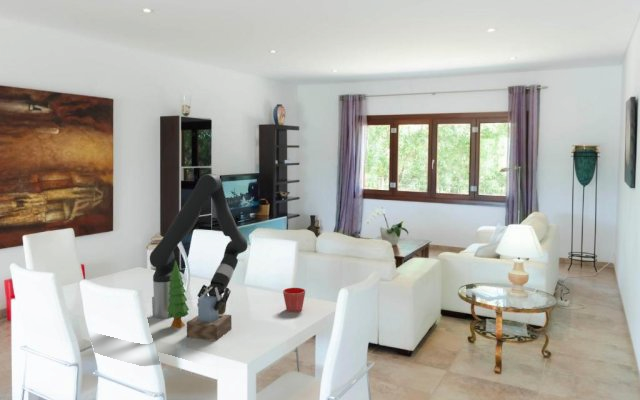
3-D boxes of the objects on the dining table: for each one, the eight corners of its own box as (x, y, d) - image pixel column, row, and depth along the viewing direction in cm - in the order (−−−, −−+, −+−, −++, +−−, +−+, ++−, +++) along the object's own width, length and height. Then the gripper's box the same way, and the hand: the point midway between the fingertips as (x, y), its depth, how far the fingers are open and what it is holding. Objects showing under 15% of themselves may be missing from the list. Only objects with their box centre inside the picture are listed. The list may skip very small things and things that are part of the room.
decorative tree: (181, 321, 242) (179, 257, 239) (193, 325, 236) (192, 259, 233) (163, 326, 234) (160, 260, 232) (175, 331, 228) (173, 263, 226)
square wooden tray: (187, 338, 221) (186, 322, 220) (202, 327, 234) (202, 312, 234) (217, 341, 217) (217, 325, 217) (231, 330, 231) (231, 314, 230)
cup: (211, 320, 242) (210, 303, 242) (210, 316, 249) (209, 299, 249) (227, 319, 244) (227, 302, 244) (226, 314, 251) (225, 298, 251)
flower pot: (302, 313, 253) (302, 293, 252) (280, 312, 255) (280, 292, 254) (307, 307, 263) (307, 288, 262) (286, 305, 265) (286, 287, 265)
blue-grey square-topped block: (198, 321, 224) (197, 298, 223) (207, 317, 229) (206, 295, 228) (209, 323, 221) (209, 300, 220) (218, 319, 227) (218, 296, 226)
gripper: (205, 270, 233) (189, 302, 224) (232, 273, 227) (216, 306, 218) (213, 279, 239) (197, 310, 229) (239, 282, 232) (224, 315, 223)
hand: (207, 308), depth 224 cm, fingers open, 8 cm apart
